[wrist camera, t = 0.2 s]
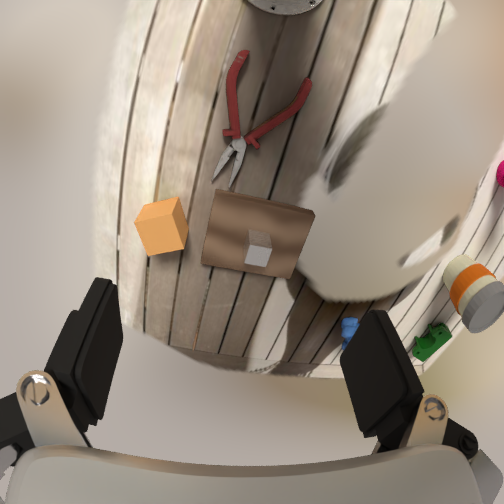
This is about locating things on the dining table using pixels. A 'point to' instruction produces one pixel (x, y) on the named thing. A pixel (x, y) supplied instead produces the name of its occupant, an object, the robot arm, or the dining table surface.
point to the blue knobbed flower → (348, 329)
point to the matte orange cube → (162, 226)
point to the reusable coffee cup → (474, 293)
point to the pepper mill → (500, 174)
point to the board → (256, 219)
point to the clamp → (431, 341)
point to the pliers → (252, 136)
